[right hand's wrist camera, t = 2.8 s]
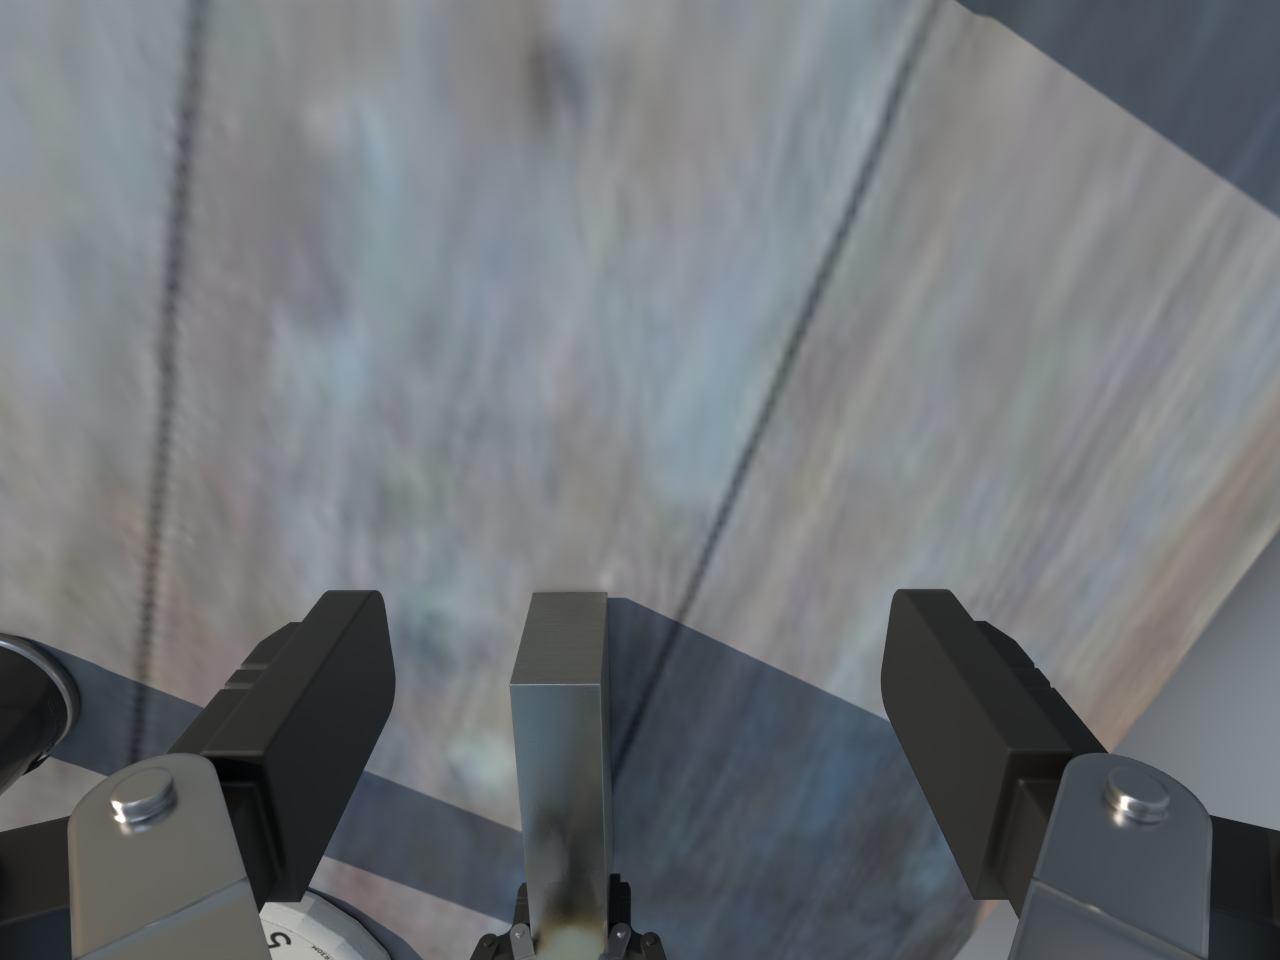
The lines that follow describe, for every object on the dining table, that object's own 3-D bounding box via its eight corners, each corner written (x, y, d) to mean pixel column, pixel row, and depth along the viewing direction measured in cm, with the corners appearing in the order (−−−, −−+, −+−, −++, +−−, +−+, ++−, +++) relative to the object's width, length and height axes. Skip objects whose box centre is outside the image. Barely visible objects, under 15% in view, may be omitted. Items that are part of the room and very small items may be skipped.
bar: (532, 592, 46) (509, 684, 37) (607, 591, 46) (600, 684, 37) (551, 859, 54) (534, 983, 46) (613, 858, 54) (609, 983, 46)
